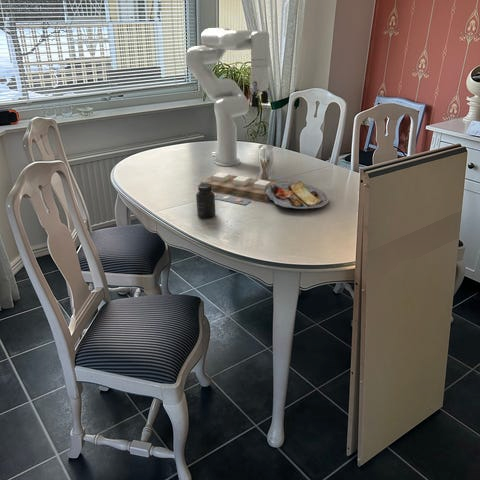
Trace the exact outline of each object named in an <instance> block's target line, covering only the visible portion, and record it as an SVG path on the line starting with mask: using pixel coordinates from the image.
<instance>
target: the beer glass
mask: <svg viewBox="0 0 480 480" xmlns="http://www.w3.org/2000/svg"><path fill="white" fill-rule="evenodd" d="M274 149H275V148H274V145H273V144H261V145H259V146H258V152H257V154H258V156H257V157H258V158H257V161H258V166H259V177H258V180H265V181H270V182H272V181H273V172H272V170H273V165H274V160H275V150H274Z"/></svg>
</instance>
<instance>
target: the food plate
mask: <svg viewBox="0 0 480 480" xmlns="http://www.w3.org/2000/svg"><path fill="white" fill-rule="evenodd" d="M275 183H276V184H273V185H271V186H268V188H267V189H266V191H265V192H266V193H267V195H268V196H269V197H270V198H271V201H273V203H274V204H275V205H278V206H280V207H282V208H291V209H292V208H293V209H303V210H305V209H315V208H321V207H323V206H325V205H327V204H328V202H329V197H328V195H327V194H326V193H325V192H323V191H322V190H320V189H318V187H314V186H312V185H309V184H304V183H302V181H300V180H299V181H297V182H292V181H291V182H285V181H284V182H275Z"/></svg>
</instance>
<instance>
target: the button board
mask: <svg viewBox="0 0 480 480" xmlns="http://www.w3.org/2000/svg"><path fill="white" fill-rule="evenodd" d="M238 176H239V175H234V174H229V180H227V181H225V182H224V183H223V182H218V181H213V175H211V176H210V177H207V178H205V179H203V180H201V181H200V184H204V183H207V184H211V188H212V190H211V191H212V192H215V193H220V194H224V195H229V196H234V197H236V196H237V197H239V198H244V199H249V200H250V199H251V200H257V201H262V202H265V203H269V201H272V199H271V198H270V197H269V196H268V195H267V193H266V192H265V191H266V190H260V189H255V188H254V183H255V182H257V181H258V180H259V179H255V178H250V183H249V184H247V185H245V186H239V185H234V184H233V179H234V178H236V177H238ZM270 182H271V185H273V184H276V183H277V182H272V181H270Z"/></svg>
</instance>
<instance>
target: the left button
mask: <svg viewBox="0 0 480 480" xmlns="http://www.w3.org/2000/svg"><path fill="white" fill-rule="evenodd" d="M229 175H230V173H227V172H226V173H225V172H217V173H215V174H212V176H213V181H218V182H223V183H224V182H225V181H227V180H229Z"/></svg>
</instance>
